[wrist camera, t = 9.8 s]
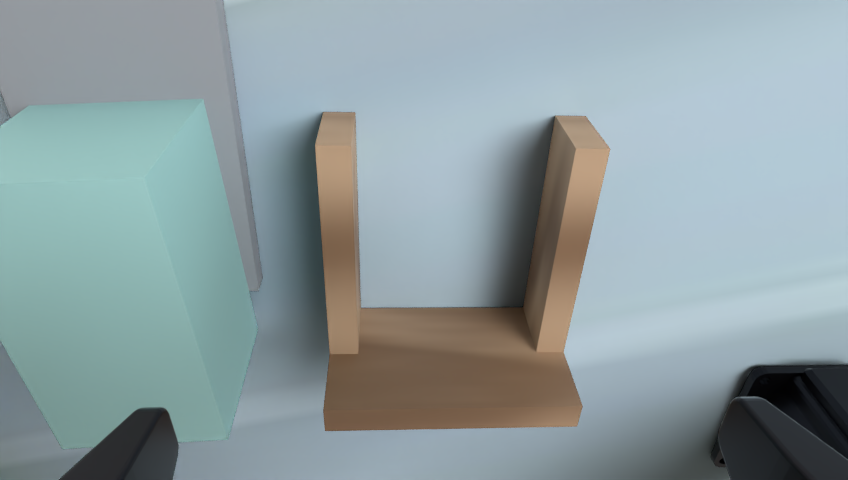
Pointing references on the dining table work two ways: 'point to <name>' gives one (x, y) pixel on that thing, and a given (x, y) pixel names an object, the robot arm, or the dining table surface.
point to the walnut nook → (457, 310)
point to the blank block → (121, 268)
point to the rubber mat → (133, 73)
